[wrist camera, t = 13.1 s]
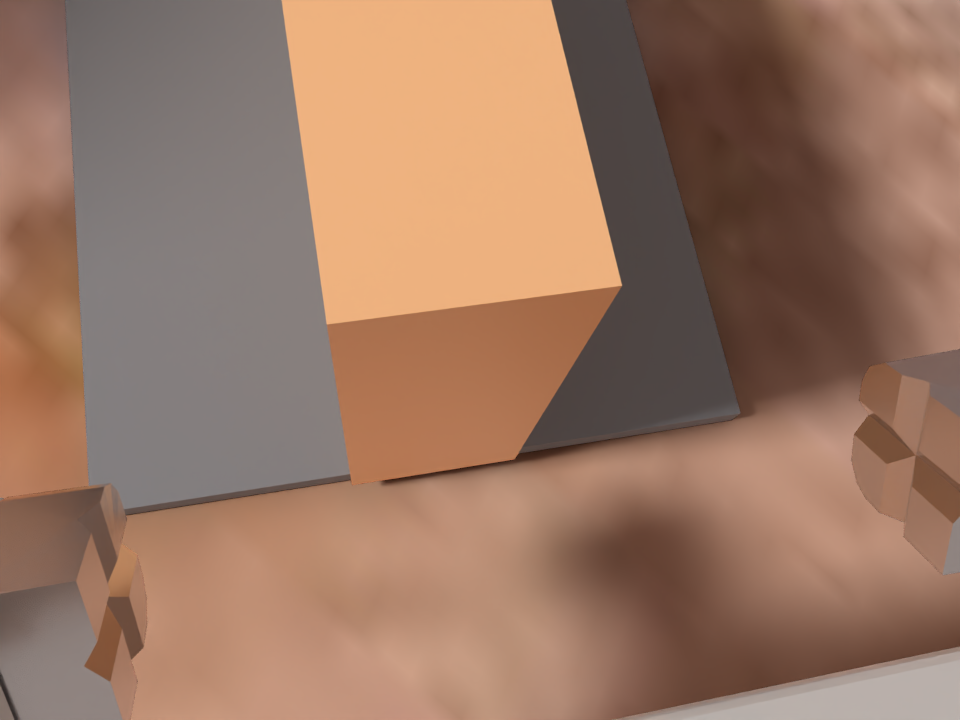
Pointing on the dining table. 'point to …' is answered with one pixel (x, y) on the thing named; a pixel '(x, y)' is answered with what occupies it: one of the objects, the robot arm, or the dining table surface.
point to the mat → (293, 257)
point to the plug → (446, 222)
